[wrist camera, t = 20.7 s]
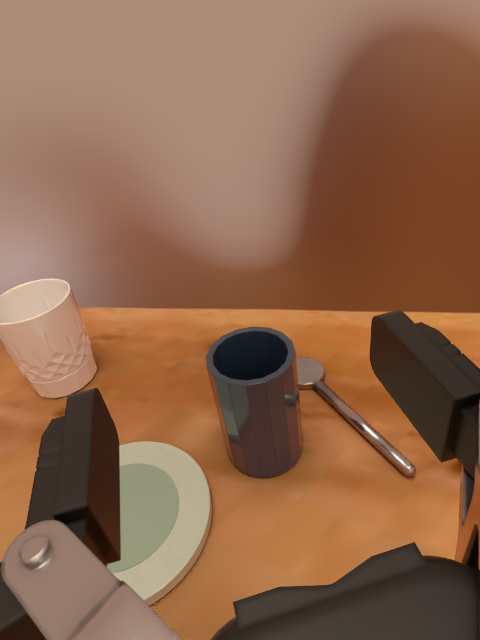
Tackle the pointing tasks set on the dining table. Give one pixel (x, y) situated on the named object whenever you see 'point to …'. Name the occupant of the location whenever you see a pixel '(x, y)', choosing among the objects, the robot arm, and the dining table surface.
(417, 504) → the dining table surface
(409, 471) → the spoon
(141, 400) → the dining table surface
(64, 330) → the white cup
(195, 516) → the side plate
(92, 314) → the dining table surface
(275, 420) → the tumbler
